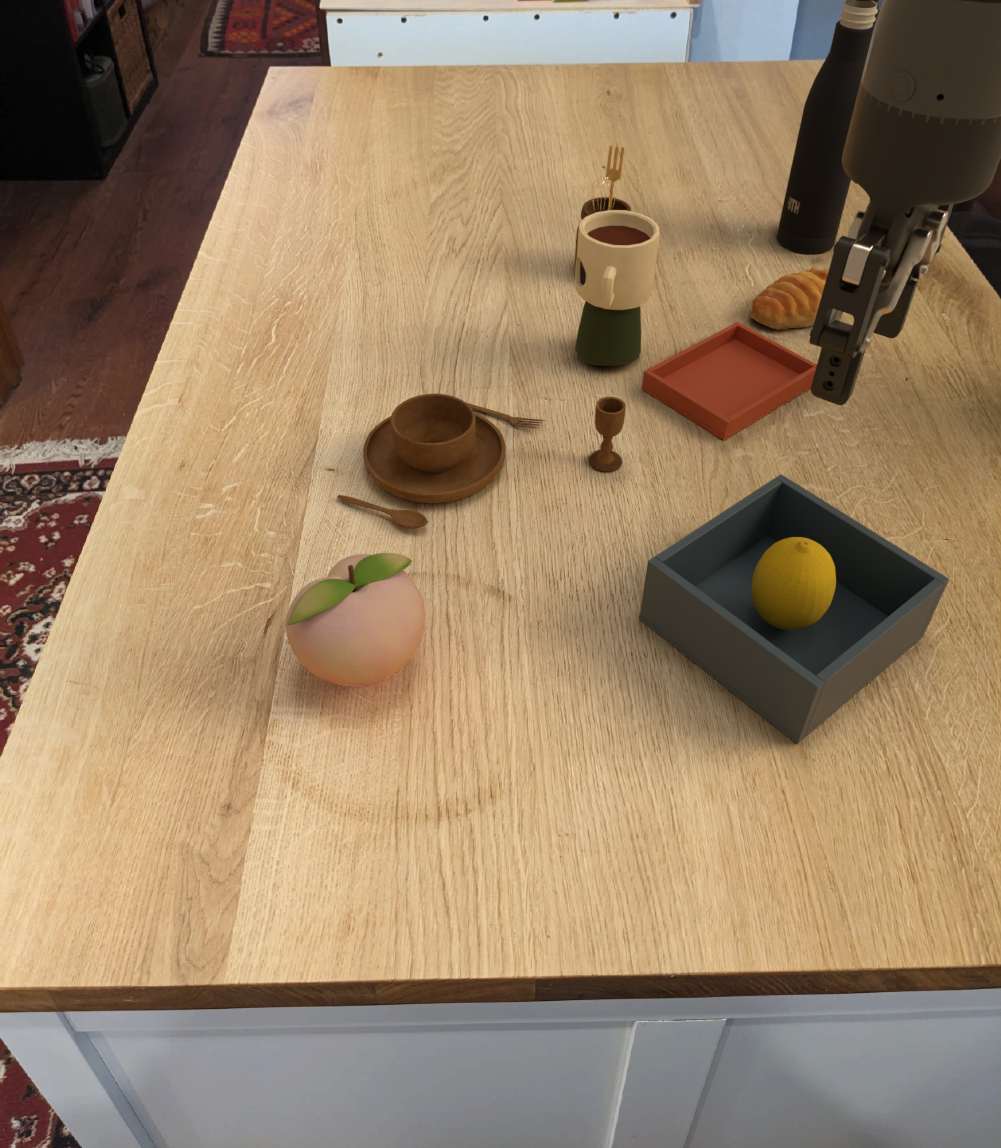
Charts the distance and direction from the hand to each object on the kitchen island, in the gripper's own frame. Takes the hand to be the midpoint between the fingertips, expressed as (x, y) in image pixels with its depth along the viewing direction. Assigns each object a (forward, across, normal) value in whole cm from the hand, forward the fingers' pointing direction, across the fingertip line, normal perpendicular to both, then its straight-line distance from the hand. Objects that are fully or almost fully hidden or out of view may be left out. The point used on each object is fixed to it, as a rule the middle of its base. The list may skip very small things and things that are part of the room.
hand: (856, 363), depth 61 cm
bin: (+20, -3, -1) cm, 21 cm away
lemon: (+20, -3, -1) cm, 20 cm away
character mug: (+21, +20, +27) cm, 39 cm away
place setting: (+21, -2, +27) cm, 34 cm away
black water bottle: (+21, +52, +20) cm, 60 cm away
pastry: (+21, +37, +15) cm, 45 cm away
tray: (+20, +22, +15) cm, 34 cm away
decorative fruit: (+21, -23, +21) cm, 38 cm away
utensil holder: (+21, +34, +36) cm, 53 cm away
